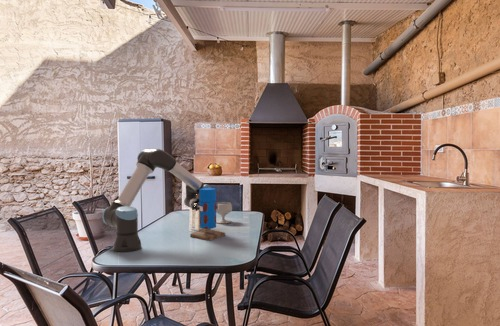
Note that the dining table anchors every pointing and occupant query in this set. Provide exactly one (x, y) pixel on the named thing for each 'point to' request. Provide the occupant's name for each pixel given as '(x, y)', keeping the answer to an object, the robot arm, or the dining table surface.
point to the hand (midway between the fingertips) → (210, 208)
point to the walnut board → (207, 234)
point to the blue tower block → (207, 208)
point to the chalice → (224, 211)
